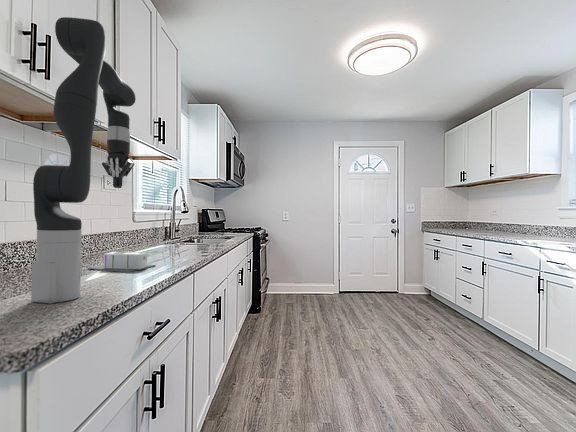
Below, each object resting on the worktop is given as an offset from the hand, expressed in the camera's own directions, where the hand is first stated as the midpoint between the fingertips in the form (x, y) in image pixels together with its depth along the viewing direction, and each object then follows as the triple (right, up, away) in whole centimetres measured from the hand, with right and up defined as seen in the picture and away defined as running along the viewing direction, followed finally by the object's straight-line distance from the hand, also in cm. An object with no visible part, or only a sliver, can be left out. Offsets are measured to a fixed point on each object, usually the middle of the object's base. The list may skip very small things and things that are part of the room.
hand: (117, 187), depth 122 cm
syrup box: (+7, -28, +6) cm, 29 cm away
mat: (-3, -31, +10) cm, 33 cm away
